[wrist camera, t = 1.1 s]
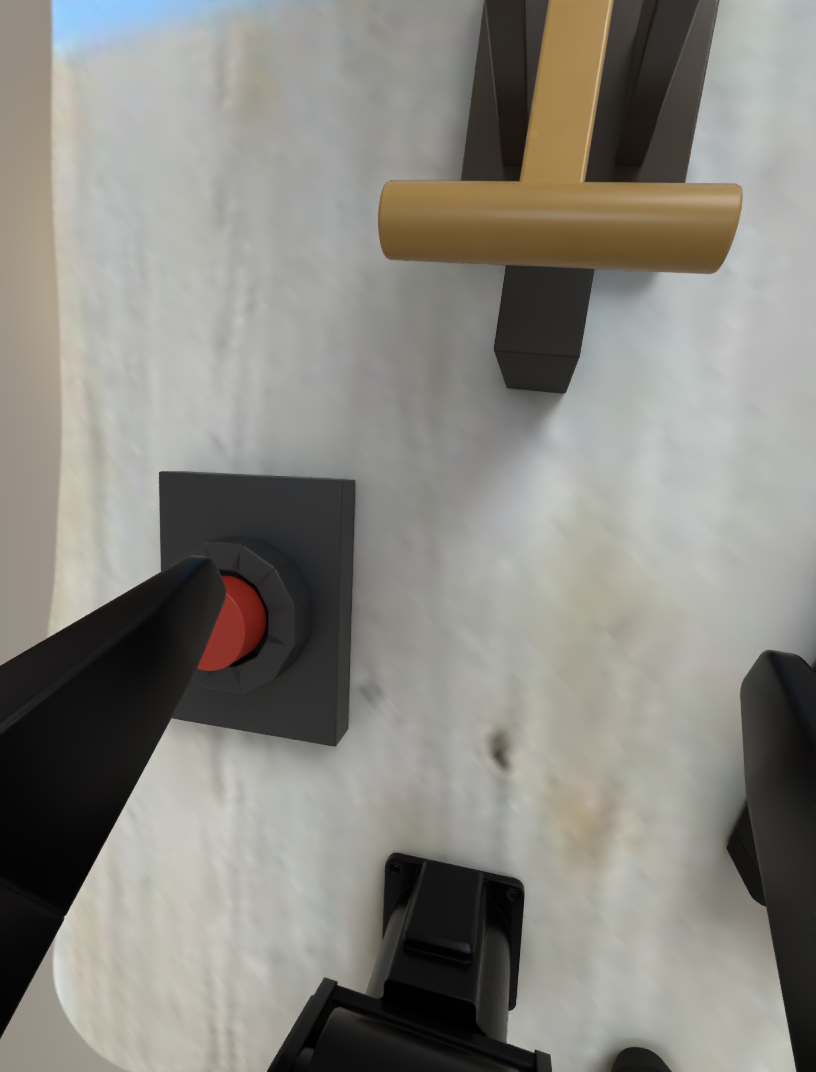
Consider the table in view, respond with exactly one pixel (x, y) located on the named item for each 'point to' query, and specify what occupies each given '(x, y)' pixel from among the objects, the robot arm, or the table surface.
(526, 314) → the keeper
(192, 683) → the dark grey square plate
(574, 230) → the lever
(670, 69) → the bracket
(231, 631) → the button
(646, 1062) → the microphone
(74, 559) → the table surface
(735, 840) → the external hard drive
